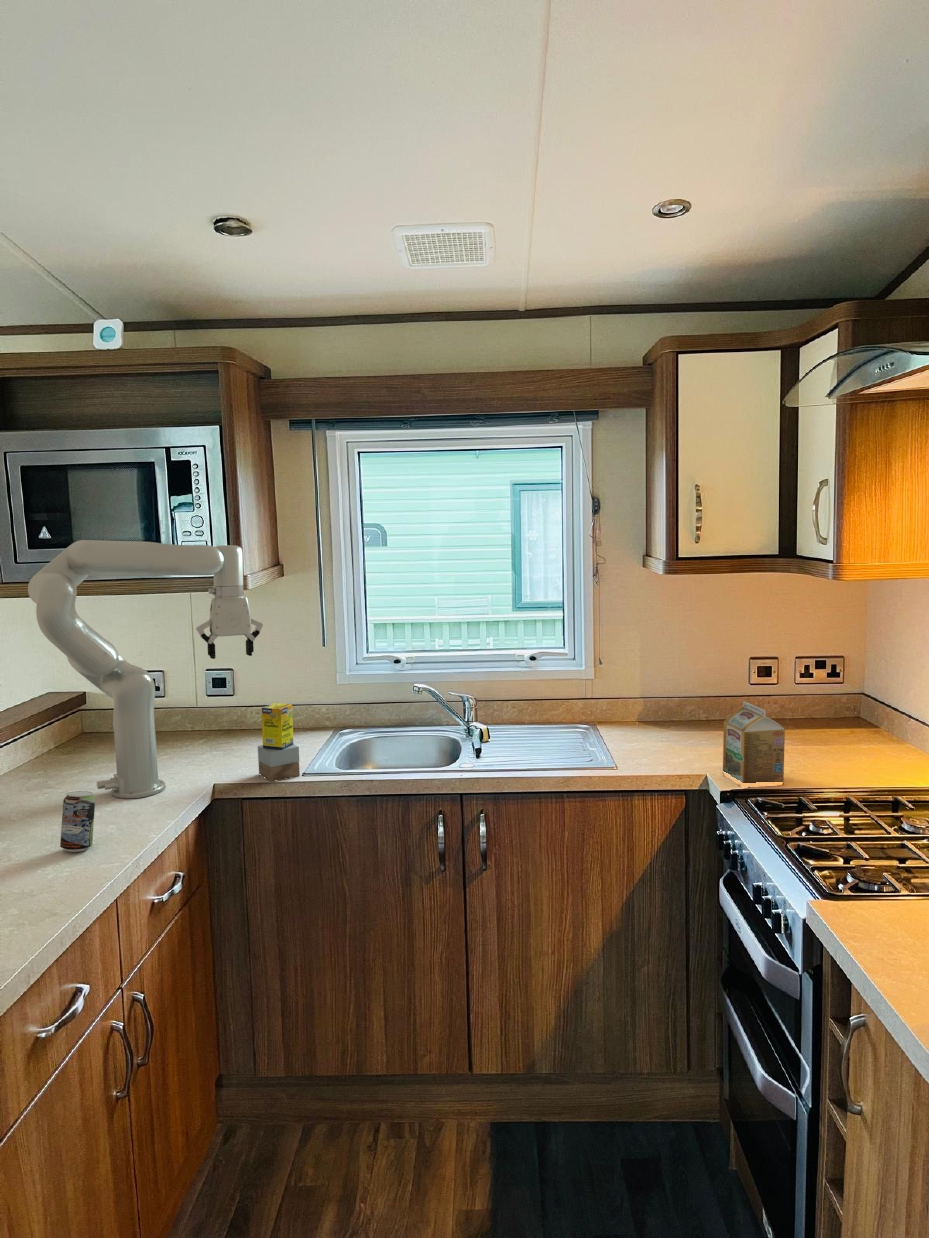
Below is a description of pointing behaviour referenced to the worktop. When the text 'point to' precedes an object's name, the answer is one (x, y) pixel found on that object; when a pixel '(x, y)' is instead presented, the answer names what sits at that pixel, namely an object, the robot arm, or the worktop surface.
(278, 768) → the walnut block
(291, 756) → the slate block
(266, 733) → the supplement box
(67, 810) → the beverage can
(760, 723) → the milk carton
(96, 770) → the worktop surface
